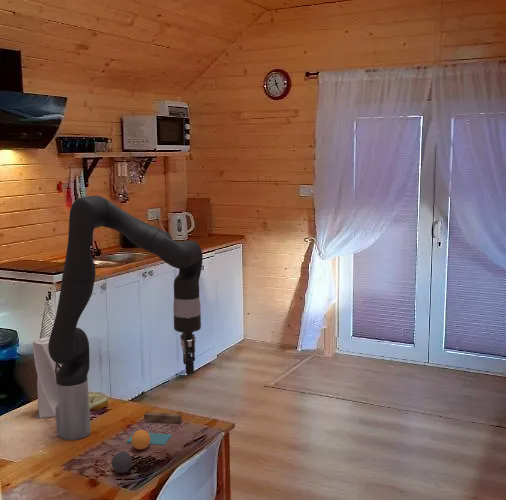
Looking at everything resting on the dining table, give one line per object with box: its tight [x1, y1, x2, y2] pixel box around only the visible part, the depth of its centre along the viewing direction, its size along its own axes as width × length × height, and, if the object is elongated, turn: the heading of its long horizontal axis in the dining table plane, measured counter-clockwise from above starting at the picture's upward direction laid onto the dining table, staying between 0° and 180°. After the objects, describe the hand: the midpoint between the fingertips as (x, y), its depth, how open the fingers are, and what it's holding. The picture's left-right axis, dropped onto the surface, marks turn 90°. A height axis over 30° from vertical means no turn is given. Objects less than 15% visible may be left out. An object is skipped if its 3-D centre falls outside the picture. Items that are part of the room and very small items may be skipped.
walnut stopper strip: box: [143, 411, 183, 425], centre depth 205 cm, size 12×2×2 cm, turn 79°
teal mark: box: [126, 431, 173, 446], centre depth 193 cm, size 12×7×1 cm, turn 78°
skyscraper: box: [32, 332, 58, 419], centre depth 211 cm, size 8×8×28 cm
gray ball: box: [111, 451, 133, 474], centre depth 173 cm, size 6×6×6 cm
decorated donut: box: [88, 391, 109, 411], centre depth 220 cm, size 10×11×4 cm
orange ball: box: [131, 429, 151, 450], centre depth 187 cm, size 6×6×6 cm
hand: (188, 368), depth 180 cm, fingers open, 8 cm apart
